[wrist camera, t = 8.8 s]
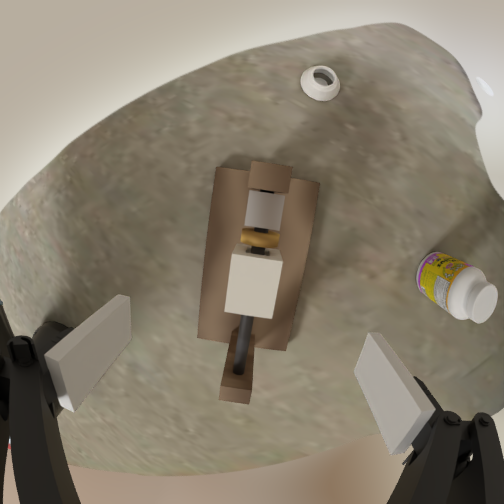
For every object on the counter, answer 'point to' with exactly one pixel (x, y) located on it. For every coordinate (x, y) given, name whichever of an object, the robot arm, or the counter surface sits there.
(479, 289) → the supplement bottle
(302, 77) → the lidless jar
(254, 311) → the sleeve
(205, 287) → the brown stand with rod
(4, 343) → the robot arm
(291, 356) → the counter surface
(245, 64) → the counter surface
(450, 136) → the counter surface
